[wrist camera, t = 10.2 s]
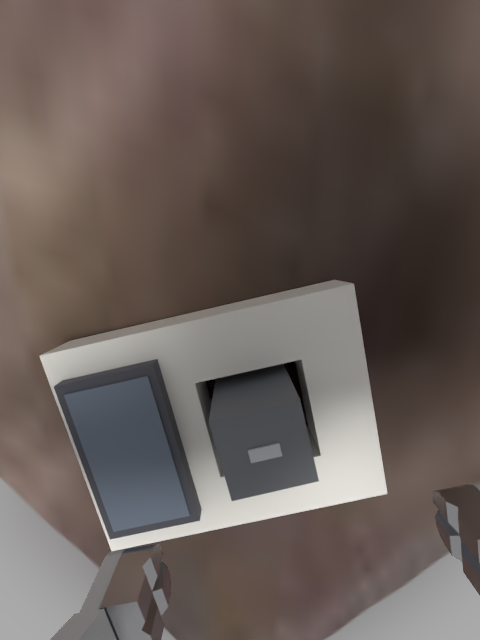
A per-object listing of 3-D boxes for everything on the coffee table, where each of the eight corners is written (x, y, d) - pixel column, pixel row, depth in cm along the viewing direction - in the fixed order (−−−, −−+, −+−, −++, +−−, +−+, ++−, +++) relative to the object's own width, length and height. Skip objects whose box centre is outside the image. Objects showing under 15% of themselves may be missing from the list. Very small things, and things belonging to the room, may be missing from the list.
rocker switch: (280, 356, 19) (300, 400, 13) (294, 415, 20) (319, 482, 14) (216, 372, 19) (208, 423, 13) (232, 429, 20) (231, 502, 14)
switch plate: (334, 279, 18) (361, 285, 14) (365, 459, 20) (395, 506, 17) (70, 340, 19) (27, 361, 15) (129, 509, 21) (105, 566, 17)
